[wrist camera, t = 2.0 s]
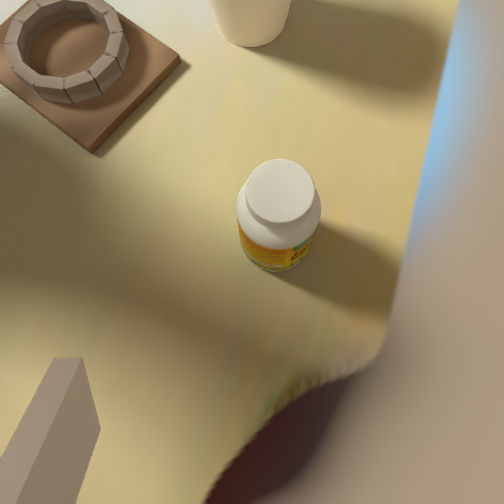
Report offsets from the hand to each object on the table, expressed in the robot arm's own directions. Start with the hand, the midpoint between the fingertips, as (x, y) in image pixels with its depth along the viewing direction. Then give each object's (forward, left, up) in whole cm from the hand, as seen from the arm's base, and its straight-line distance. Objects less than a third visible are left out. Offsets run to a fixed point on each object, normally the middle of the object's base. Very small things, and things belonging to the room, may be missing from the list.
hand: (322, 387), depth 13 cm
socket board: (-30, +10, -21) cm, 38 cm away
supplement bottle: (-7, +8, -21) cm, 24 cm away
